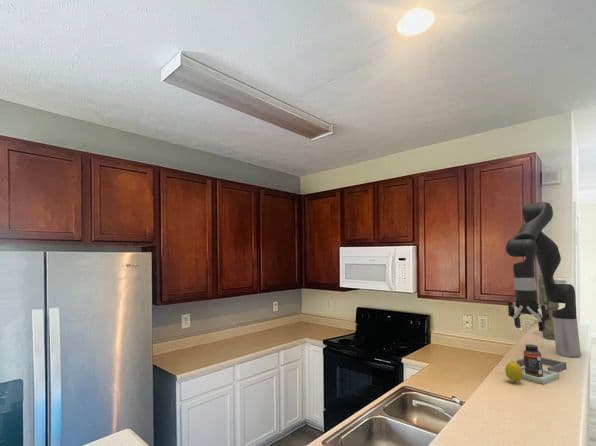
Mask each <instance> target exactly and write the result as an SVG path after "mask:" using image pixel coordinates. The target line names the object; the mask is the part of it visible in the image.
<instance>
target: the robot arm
mask: <svg viewBox="0 0 596 446" xmlns="http://www.w3.org/2000/svg"><path fill="white" fill-rule="evenodd" d="M521 212H522V213H521V214H522V217H523V221H524V224H523V225H522V226H521V227H520V229H519V230H518V232H517V234H515V235H514V236H512V237H511V238H510V239H509V240H508V241H507V243H506V244H505V251H506V252H505V253H506V254H507V255H508V256H510V257H513V258H517V257H525V259H524V260H523V261H520V262H519V261H518V262H515V263H514V264H513V266H512V269H513V288H514V296H515V301H516V302H515V301H508V302H507V307H508V310H507V312H508V316H509V317H511V318H513V322H514V326H515V328H516V329H520V328H521V327H522V324H521V318H520V317H521V316H522V315H529V316H531V315H532V316H533V317H534V318H535V319H536V320H537V323H538V331H539V332H541V333H542V331H544V330H545V323H544V322H545V321H547V320H550V317H549V311H548V306H547V305H546V304H545V305H540V303H539V302H538V301H539V296H538V290H537V282H536V277H535V268H534V267H535V260H537V263H538V266H539V269H540V272H541V276H542V277H543V282H544V287H545V292H546V296H547V298H548V300H549V301H550V302H554V303H559V304H565V305H564V307H562V308H560V309H559V308H558V310H554V311H553V312H552V317H553V326H554V335H555V340H554V342H555V343H554V345H555V352H556V355H559V356H561V357H568V358H581V356H582V353H581V343H580V335H579V326H578V316H577V302H576V301H577V299H576V290H575V287H574V286H573V284H571V283H556V282H555V283H554V281H553V278H554V276H555V272H556V271H557V269H558V267H559V265H560V264H561V260H562V257H561V253H560V250H559V247H558V245H557V244H556V243H555V242H554V240H553V239H551V238H550V237H549V236H548V235H546V234H545V233H544V232H543V231H542V230H543V229H544V228H545V227H546V226H547V225H548V224H549V223H550V222H551V221H552V219H553V217H554V209H553V207H552V204H551V203H550V202H548V201H542V202H541V201H540V202H534V203H527V204H525V205H523V206H522V208H521ZM535 258H536V259H535ZM515 307H516V308H517V309H516V310H515ZM541 310H542V313H541V312H540V311H541ZM542 315H543V317H542Z"/></svg>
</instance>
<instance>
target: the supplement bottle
mask: <svg viewBox="0 0 596 446" xmlns="http://www.w3.org/2000/svg"><path fill="white" fill-rule="evenodd" d="M524 346H525V349H524V350H523V353H522V354H523V358H524V366H525V373H526V374H528V375H531V376H535V377H541V376H543V367H544V366H543V364H542V358H543V357H542V353H541V352H540V351H539V350H538V348H539V347H538V345H536V344H530V343H529V344H525V345H524Z"/></svg>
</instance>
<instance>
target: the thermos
mask: <svg viewBox="0 0 596 446" xmlns="http://www.w3.org/2000/svg"><path fill="white" fill-rule="evenodd" d="M553 281H554V283H555V284H556V281H555V278H554V277H553ZM538 289H539V296H538V301H539V302H538V304H539V305H545V304H546V305H547V306H548V311H549V317H550V320H547V321H545V322H544V323H545V330H544V331H542V332H541V333H542V336H543V337H542V338H543V339H546V340H549V341H555V335H554V326H553V317H552V312H553V311H554V310H559V308H560V303H554V302H550V301H549V300H548V298H547V296H546V292H545V287H544V282H543V277H542V275H540V276H539V278H538ZM540 311H541V312H540V313H541V315H542V310H540ZM542 317H543V315H542Z"/></svg>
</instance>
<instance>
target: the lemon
mask: <svg viewBox="0 0 596 446" xmlns="http://www.w3.org/2000/svg"><path fill="white" fill-rule="evenodd" d="M521 367H522V366H521ZM521 367H520V365H519V364H517V362H515V361H513V360H511V361H509V362H508V363H507V364H506V365H505V370H504V371H505V376H506V377H507V379H509V380H510V381H512V383H514V384H516V383H517V382H519V381H521V380H523V379H522V375H523V374H522V369H521Z"/></svg>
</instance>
